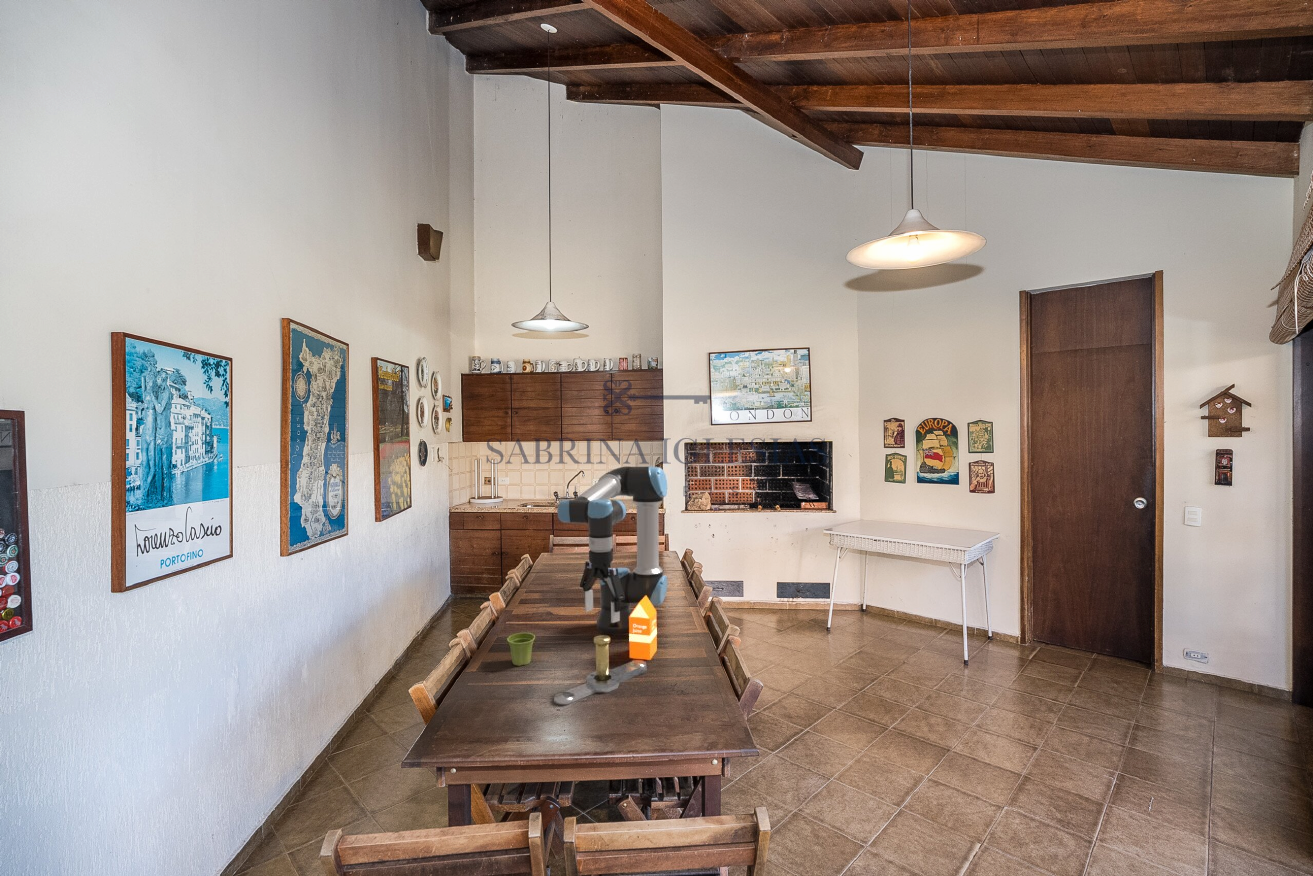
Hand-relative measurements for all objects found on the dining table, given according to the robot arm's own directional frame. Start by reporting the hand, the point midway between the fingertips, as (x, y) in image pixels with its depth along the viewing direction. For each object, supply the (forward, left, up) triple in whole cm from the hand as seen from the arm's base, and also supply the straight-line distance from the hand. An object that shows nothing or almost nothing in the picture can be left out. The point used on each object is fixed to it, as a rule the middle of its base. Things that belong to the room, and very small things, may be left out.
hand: (602, 616), depth 185 cm
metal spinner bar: (0, 0, -22) cm, 22 cm away
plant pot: (-33, -10, -22) cm, 41 cm away
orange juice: (-9, +25, -22) cm, 35 cm away
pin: (0, 0, -22) cm, 22 cm away
